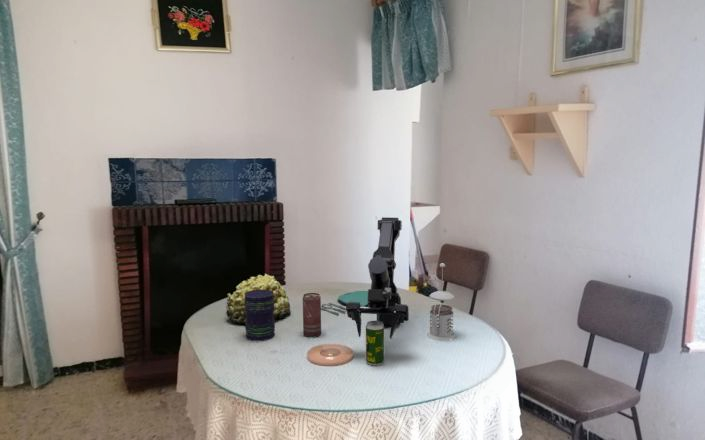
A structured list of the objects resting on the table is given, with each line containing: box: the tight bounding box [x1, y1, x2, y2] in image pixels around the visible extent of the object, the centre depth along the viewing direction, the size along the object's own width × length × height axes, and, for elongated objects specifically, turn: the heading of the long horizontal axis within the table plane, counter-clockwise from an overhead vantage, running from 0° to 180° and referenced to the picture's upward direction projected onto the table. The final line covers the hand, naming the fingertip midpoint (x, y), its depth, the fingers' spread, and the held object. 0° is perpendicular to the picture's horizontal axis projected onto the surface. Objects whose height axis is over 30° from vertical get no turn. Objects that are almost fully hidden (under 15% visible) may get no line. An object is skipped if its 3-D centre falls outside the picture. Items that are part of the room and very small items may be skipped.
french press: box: [426, 262, 457, 341], centre depth 166 cm, size 10×12×25 cm
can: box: [302, 292, 322, 338], centre depth 169 cm, size 6×6×14 cm
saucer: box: [306, 343, 354, 367], centre depth 151 cm, size 14×14×1 cm
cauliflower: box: [225, 273, 292, 325], centre depth 189 cm, size 25×24×16 cm
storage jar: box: [244, 289, 276, 342], centre depth 168 cm, size 10×10×15 cm
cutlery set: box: [321, 290, 369, 316], centre depth 205 cm, size 20×30×2 cm, turn 130°
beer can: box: [365, 320, 385, 367], centre depth 146 cm, size 5×5×12 cm
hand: (374, 337), depth 146 cm, fingers open, 9 cm apart
